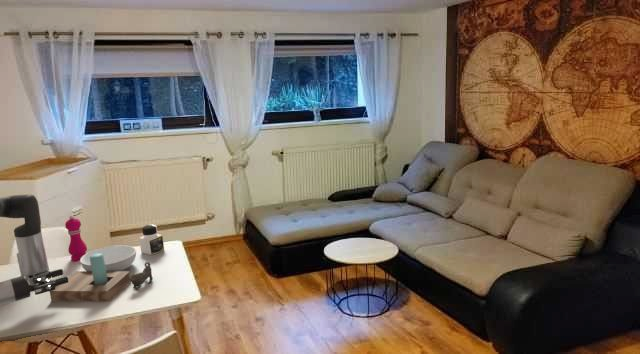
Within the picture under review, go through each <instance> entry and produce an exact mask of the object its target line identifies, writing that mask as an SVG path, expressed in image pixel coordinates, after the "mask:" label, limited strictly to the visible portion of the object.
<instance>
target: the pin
mask: <svg viewBox="0 0 640 354" xmlns="http://www.w3.org/2000/svg"><path fill="white" fill-rule="evenodd" d="M90 263H91V268H92V273H93V279H94V284H95V285H105V284H106V283H107V282H108V278H107V273H106V267H105V261H104V256H103V254H102V253H97V254H93V255H91V256H90Z"/></svg>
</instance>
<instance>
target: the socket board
mask: <svg viewBox="0 0 640 354" xmlns="http://www.w3.org/2000/svg"><path fill="white" fill-rule="evenodd" d="M106 273H107V278H108V282H107V283H106V284H105V285H95V284H94V279H93V273H92V271H86V270H84V271H80V270H79V271H75V272H73V273H72V274H71V275H69V276H67V277H68V283H65V284H62V285H58V286H57V287H55V290H52V291H49V295H50V300H51V302H101V303H102V302H111V300H112V299H114V297H116V296H117V295H118V294H119V293H120V292H121V291H122V290H124V289H125V287H127V286H128V285H129V284H130V283H131V282H130V280H129V276H131V275H132V274H131V271H127V270H125V271H124V270H122V271H106Z"/></svg>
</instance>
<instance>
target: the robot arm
mask: <svg viewBox="0 0 640 354" xmlns="http://www.w3.org/2000/svg"><path fill="white" fill-rule="evenodd" d="M40 214H41V213H40V207H39V201H38V199H37V197H36V196H35V195H33V194H16V195H15V194H14V195H8V196H1V197H0V218H5V219H7V218H8V219H24V223H23V224H21V225H18V226H17V227H15V228H14V229H13V234H14V239H15V244H16V248H17V253H16V257H17V265H18V268H19V273H20V276H18V277H14V278H13V277H12V278H9V279H6V280H2V281H0V306H3V305H7V304H10V303H15V302H18V301H21V300H24V299H27V298H30V297H31V293H33V292H34V294H35V295H41V294H44V293H47V292H50V291H52V290H55V287H57V286H58V285H62V284H65V283H68V277H69V276H63V275H64V269H62V268H59V269H55V270H52V271H50V267H49V262H48V257H47V252H46V248H45V243H44V237H43V233H42V229H41V228H42V227H41V225H42V222H41V219H42V218H41V215H40ZM60 276H63V277H60ZM56 277H58V278H56ZM53 278H55V279H53Z"/></svg>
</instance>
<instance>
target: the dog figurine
mask: <svg viewBox="0 0 640 354" xmlns="http://www.w3.org/2000/svg"><path fill="white" fill-rule="evenodd" d="M144 267H145V268H143V271H142V272H139V273H135V274H130V275H131V276H129V280H130V283H131V284H132V285H133V287H132V288H133V289H135V291H140V288H141V286H142V285H143V284H144V283H145V282H146V281H147V279H148V278H149V282H148V284H149V285H151V284H153V283H152V282H153V278H154V277H153V276H152V267H151V263H149V261H146V262H145V263H144Z"/></svg>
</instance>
